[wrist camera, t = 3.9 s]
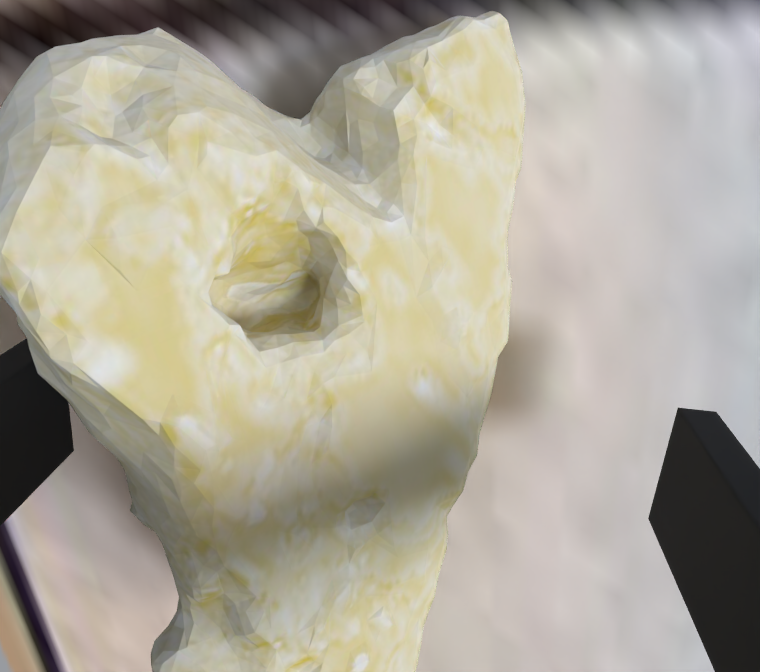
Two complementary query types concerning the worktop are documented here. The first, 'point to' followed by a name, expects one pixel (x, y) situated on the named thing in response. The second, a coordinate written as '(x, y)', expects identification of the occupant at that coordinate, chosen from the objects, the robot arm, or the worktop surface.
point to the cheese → (273, 320)
